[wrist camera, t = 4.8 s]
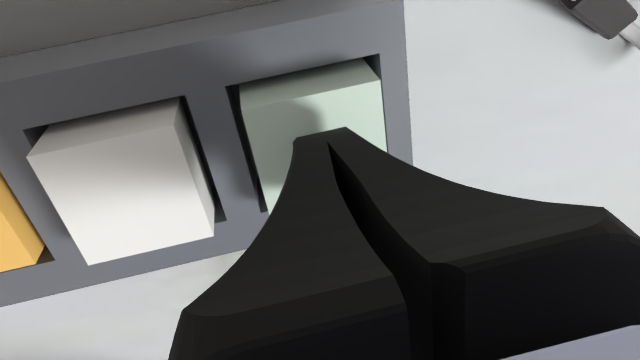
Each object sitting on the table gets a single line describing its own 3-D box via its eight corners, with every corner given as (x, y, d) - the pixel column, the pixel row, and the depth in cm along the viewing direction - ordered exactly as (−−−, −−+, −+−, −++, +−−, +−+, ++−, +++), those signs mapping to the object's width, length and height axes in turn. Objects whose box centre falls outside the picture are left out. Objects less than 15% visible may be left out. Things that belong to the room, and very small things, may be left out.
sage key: (361, 57, 13) (380, 79, 11) (373, 163, 15) (391, 194, 13) (238, 84, 13) (240, 110, 11) (266, 187, 14) (271, 223, 13)
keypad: (374, -19, 14) (403, -2, 11) (390, 168, 17) (415, 209, 15) (-182, 94, 13) (-265, 137, 10) (-45, 268, 16) (-87, 327, 14)
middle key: (179, 96, 13) (173, 125, 11) (214, 199, 14) (213, 236, 13) (50, 124, 12) (25, 157, 11) (102, 225, 14) (88, 265, 13)
